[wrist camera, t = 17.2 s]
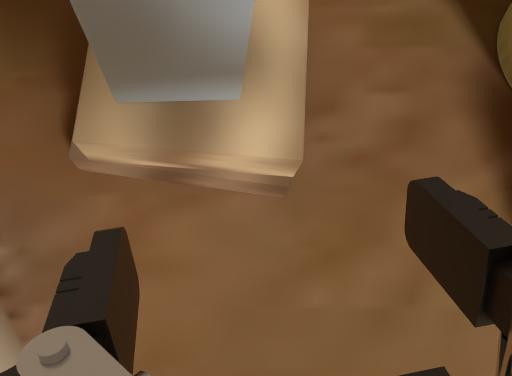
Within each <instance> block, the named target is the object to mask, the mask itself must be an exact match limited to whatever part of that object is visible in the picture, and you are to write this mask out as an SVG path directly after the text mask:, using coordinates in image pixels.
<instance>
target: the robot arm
mask: <svg viewBox="0 0 512 376" xmlns="http://www.w3.org/2000/svg"><path fill="white" fill-rule="evenodd" d="M405 236H406V240H407V242H408V245H409V247H410V248H411V249H412V251H413V252H414V253H415V254H416V256H417V257H418V258H419V259H420V260H421V262H422V263H423V264H424V265H425V267H426V268H427V269H428V270H429V271H430V273H431V274H432V275H433V276H434V278H435V279H436V280H437V281H438V283H439V284H440V285H441V286H442V287H443V289H444V290H445V291H446V292H447V294H448V295H449V296H450V297H451V298H452V300H453V301H454V302H455V303H456V305H457V306H458V307H459V308H460V310H461V311H462V312H463V313H464V314H465V316H466V317H467V318H468V319H469V321H470V322H471V323H472V324H473V325H474V327H480V326H486V325H491V324H495V325H496V326H497V327H498V328H499V330H500V331H501V332H500V336H499V343H498V354H497V366H496V376H512V226H511V225H509V224H508V223H507V222H506V221H504V220H503V219H502V218H501V217H500V218H498V215H497V214H496V213H494V212H493V211H492V210H491V209H489V210H488V207H487V206H486V205H484V204H483V203H482V202H481V201H479V200H478V199H477V198H476V197H473V196H471V195H468V194H466V193H464V192H461V191H459V190H457V191H455V190H454V189H453V188H452V187H451V186H449V185H448V184H447V183H446V182H445V181H443V180H442V179H441V178H439V177H431V178H424V179H418V180H412V181H410V183H409V185H408V189H407V202H406V215H405ZM138 307H139V281H138V275H137V271H136V267H135V263H134V260H133V256H132V252H131V248H130V244H129V240H128V236H127V233H126V230H125V228H124V227H120V228H113V229H107V230H101V231H95V232H94V235H93V239H92V243H91V246H90V250H89V251H87V252H81V253H76V254H75V256H74V257H73V258H72V259H71V260H70V261H69V262H68V263H67V264H66V265H65V266H64V269H63V272H62V275H61V278H60V283H59V284H58V287H57V290H56V295H55V296H54V299H53V302H52V305H51V308H50V311H49V314H48V317H47V320H46V323H45V326H44V329H43V332H42V334H40V335H38V336H37V337H35V338H34V339H32V340H31V341H30V342H29V343H28V344H27V345H26V346H25V347H24V348H23V350H22V351H21V352H20V354H19V356H18V359H17V364H16V365H15V366H13V367H12V368H10V369H8V370H6V371H4V372H2V373H0V376H133V375H132V374H133V363H134V352H135V340H136V329H137V318H138ZM134 376H150V375H149V374H147V373H146V372H144V371H139V372H138V373H137V374H135V375H134ZM400 376H450V375H449V373H448V372H447V370H446V369H445V367H444V366H443V367H439V368H434V369H429V370H424V371H419V372H414V373H409V374H404V375H400Z"/></svg>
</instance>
